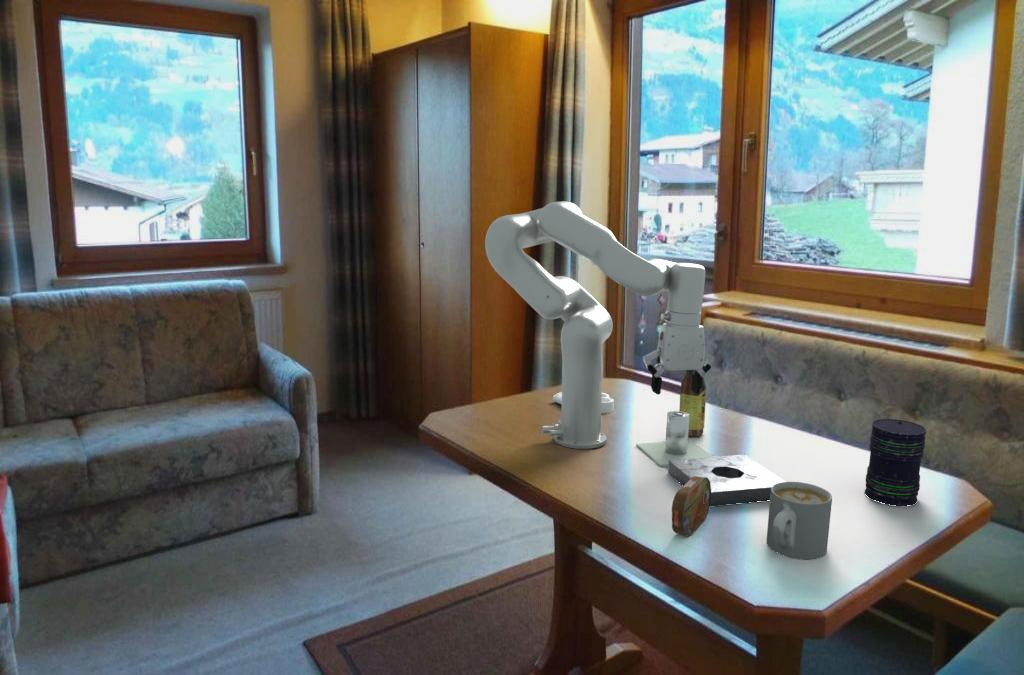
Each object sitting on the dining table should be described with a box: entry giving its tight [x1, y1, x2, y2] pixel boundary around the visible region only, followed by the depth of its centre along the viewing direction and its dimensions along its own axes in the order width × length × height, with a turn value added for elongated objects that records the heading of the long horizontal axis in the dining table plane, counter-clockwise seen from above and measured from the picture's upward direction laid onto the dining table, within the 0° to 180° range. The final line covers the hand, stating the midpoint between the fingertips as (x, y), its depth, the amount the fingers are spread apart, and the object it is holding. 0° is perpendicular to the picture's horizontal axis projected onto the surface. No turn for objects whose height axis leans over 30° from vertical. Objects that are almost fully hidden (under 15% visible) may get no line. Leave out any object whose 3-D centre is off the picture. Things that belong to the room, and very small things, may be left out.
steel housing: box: [667, 454, 786, 507], centre depth 164 cm, size 18×18×3 cm
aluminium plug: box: [664, 410, 690, 455], centre depth 182 cm, size 5×5×9 cm
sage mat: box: [635, 439, 714, 468], centre depth 183 cm, size 14×14×1 cm
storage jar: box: [864, 418, 927, 507], centre depth 159 cm, size 10×10×15 cm
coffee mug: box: [766, 481, 833, 561], centre depth 136 cm, size 13×10×10 cm
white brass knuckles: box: [552, 391, 615, 414], centre depth 221 cm, size 3×18×15 cm
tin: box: [671, 476, 711, 537], centre depth 145 cm, size 15×3×8 cm, turn 148°
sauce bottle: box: [678, 370, 707, 437], centre depth 196 cm, size 6×6×20 cm
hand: (675, 392), depth 181 cm, fingers open, 9 cm apart
